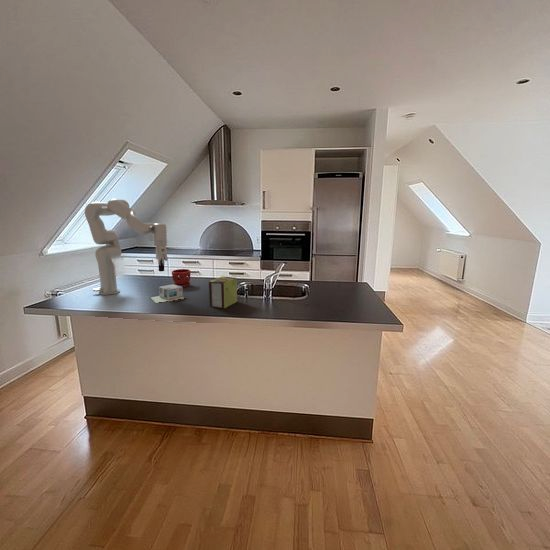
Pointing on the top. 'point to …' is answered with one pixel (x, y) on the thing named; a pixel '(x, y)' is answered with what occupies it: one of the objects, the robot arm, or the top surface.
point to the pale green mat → (164, 299)
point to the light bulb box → (170, 291)
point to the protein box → (223, 291)
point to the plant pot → (181, 277)
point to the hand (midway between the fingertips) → (161, 270)
